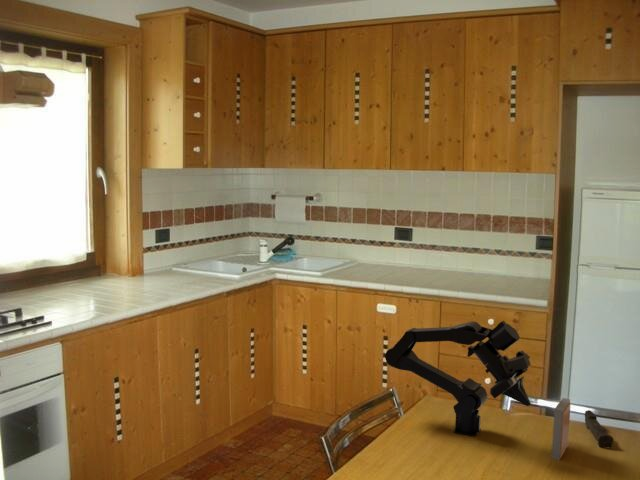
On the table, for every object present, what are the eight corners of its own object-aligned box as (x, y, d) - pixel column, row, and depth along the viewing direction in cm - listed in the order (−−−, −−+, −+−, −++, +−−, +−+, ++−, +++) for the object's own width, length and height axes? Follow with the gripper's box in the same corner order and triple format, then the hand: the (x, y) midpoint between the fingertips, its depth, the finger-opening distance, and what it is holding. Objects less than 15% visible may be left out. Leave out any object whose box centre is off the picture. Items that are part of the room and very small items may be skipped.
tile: (551, 458, 181) (554, 408, 179) (559, 445, 189) (562, 397, 187) (560, 460, 179) (563, 410, 178) (568, 447, 188) (571, 399, 186)
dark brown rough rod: (612, 449, 188) (614, 433, 187) (598, 448, 188) (599, 432, 188) (595, 423, 206) (596, 408, 206) (581, 422, 207) (582, 407, 206)
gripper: (504, 351, 180) (543, 399, 176) (522, 336, 196) (559, 380, 192) (474, 374, 185) (511, 421, 181) (494, 358, 201) (529, 400, 197)
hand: (529, 405), depth 187 cm, fingers closed
